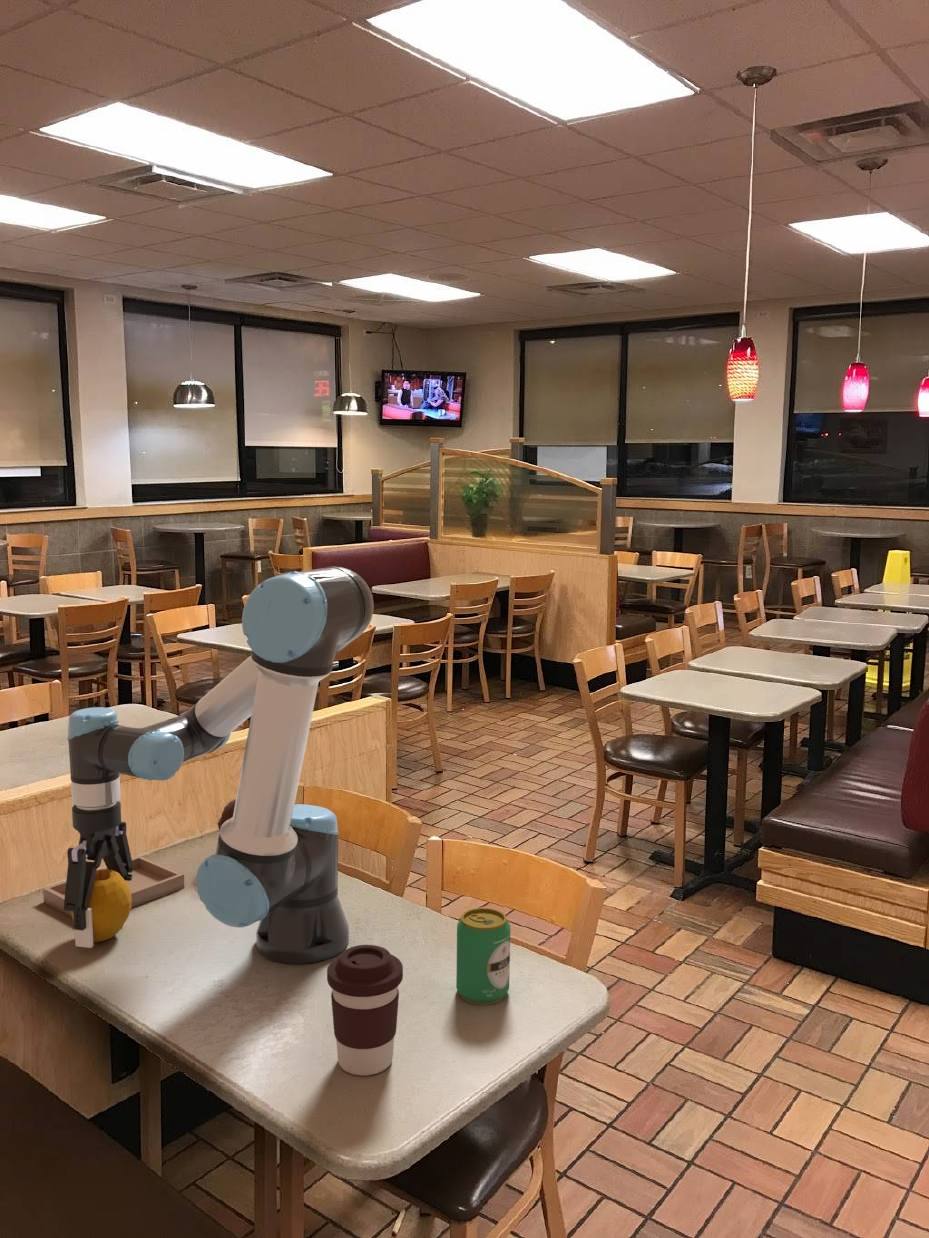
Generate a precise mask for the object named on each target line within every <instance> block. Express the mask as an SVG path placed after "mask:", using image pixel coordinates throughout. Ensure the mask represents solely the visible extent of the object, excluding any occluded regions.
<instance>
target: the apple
mask: <svg viewBox="0 0 929 1238" xmlns="http://www.w3.org/2000/svg"><path fill="white" fill-rule="evenodd" d="M131 903H132V899H131V893H130V888H129V886H128V884H127V883H126V881H125V880H124V879H123V877H122V876H121V875H120V874H119V873H118V872H115V871H113V870H109V869H103V870H99V869H97V871H96V874H95V879H94V883H93V888H92V892H91V896H90V901H89V905H88V908H92V928H93V943H99V942H104V941H106V940H110V939H112V938H113V937H114V936H116V935H118V933H119V932H120V930H121V929H122V928H123V926H124V925H125V923H126V922H127V920H128V918H129V916H130V913H131V909H132V908H131ZM71 913H72V917H71V919H72V921H73V922H74V915H73V911H71Z"/></svg>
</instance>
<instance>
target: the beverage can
mask: <svg viewBox="0 0 929 1238" xmlns="http://www.w3.org/2000/svg"><path fill="white" fill-rule="evenodd" d="M510 961H511V924H510V922H509V920H508V919H507V915H506V914H505V913H504V912H503V911H500V910H498V909H496V908H492V907H491V908H490V907H476V908H471V909H468V910H466V911H463V912H462V914H461V916H460V919H459V921H458V922H457V924H456V978H455V979H456V981H455V982H456V983H455V984H456V985H455V986H456V989H457V991H458V994H459V996H460V998H462V999H463V1001H466V1002H468V1003H470V1004H474V1005H479V1006H486V1005H494V1004H497V1003H499V1002H501V1001H503V1000H504V999H505V997H506V996H507V993H508V992H509V989H510V975H511V974H510V973H511V971H510V967H511V965H510V964H511V963H510Z"/></svg>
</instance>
